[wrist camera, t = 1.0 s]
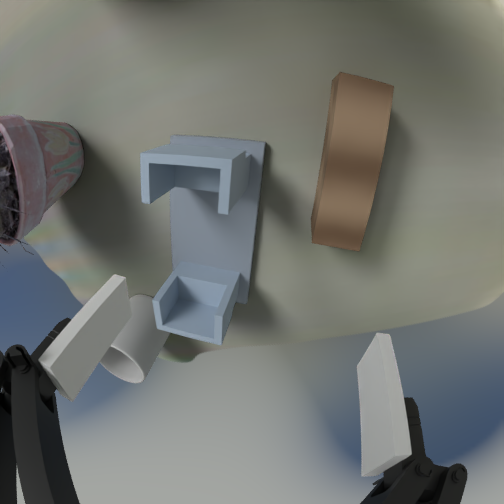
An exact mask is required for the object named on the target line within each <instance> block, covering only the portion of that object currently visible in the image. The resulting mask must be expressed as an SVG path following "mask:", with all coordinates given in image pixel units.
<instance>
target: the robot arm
mask: <svg viewBox="0 0 504 504" xmlns="http://www.w3.org/2000/svg"><path fill="white" fill-rule="evenodd" d="M131 316H132V312H131V306H130V301H129V295H128V289H127V283H126V277H122V276H119V275H116V274H114V275H113V276H112V277H111V278H110V279H109V280H108V281H107V282H106V283H105V284H104V285H103V286H102V287H101V288H100V289H99V291H98V292H97V293H96V294H95V295H94V296H93V297H92V298H91V299H90V300H89V301H88V302H87V303H86V305H85V306H84V307H83V308H82V309H81V310H80V311H79V312H78V313H77V314H76V316H75V317H74V318H73V319H72V320H71V319H69V318H66V319H64V320H62V321H61V322H59V323H58V324H57V325H56V326H55V328H54V329H53V331H51V332H50V333H49V334H48V336H47V337H46V338H45V339H44V340H43V341H42V342H41V344H40V345H39V346H38V347H37V348H36V350H35V351H34V352H33V353H32V355H29V354H28V352H27V350H26V349H25V347H24V346H22V345H13V346H11V347H10V348H8V350H7V351H6V352H5V356H4V355H3V353H2V352H1V351H0V392H1V388H3V389H2V392H1V393H0V504H17V491H16V468H18V473H19V478H20V483H21V487H22V492H23V496H24V499H25V503H26V504H80V503H79V500H78V497H77V494H76V491H75V488H74V485H73V482H72V479H71V474H70V471H69V467H68V463H67V459H66V455H65V451H64V446H63V441H62V436H61V430H60V425H59V418H58V411H57V404H56V397H55V393H54V392H55V390H56V389H57V390H58V391H59V393H60V394H61V395H62V396H63V397H65V398H67V399H68V400H70V401H72V402H73V401H74V399H75V398H76V396H77V395H78V393H79V392H80V390H81V388H82V387H83V385H84V384H85V382H86V381H87V379H88V378H89V376H90V375H91V373H92V372H93V370H94V369H95V367H96V366H97V364H98V363H99V361H100V360H101V359H102V357H103V356H104V354H105V353H106V351H107V350H108V348H109V347H110V346H111V344H112V343H113V341H114V340H115V339H116V337H117V336H118V334H119V333H120V332H121V330H122V329H123V327H124V326H125V325H126V323H127V322H128V321H129V319H130V318H131ZM357 375H358V387H359V400H360V417H361V443H362V445H361V446H362V476H377V475H379V474H380V473H382V472H384V477H383V478H381V479H379V480H377V481H376V482H374V483H373V485H376V484H377V485H376V486H375V487H374V489H373V490H372V491H371V492H370V493H369V494H368V495H367V497H366V498H365V499H364V500H363V501H362V502H361V503H360V504H460V502H461V499H462V495H463V492H464V488H465V484H466V481H467V470H466V468H465V467H464V466H463V465H462V464H454V465H452V466H451V467H449V468H448V467H443V466H438V465H435V464H433V462H432V461H431V459H430V458H428V457H426V454H425V449H424V442H423V435H422V429H421V426H420V424H421V422H420V418H419V411H418V407H417V405H416V403H415V401H414V400H413V398H404V396H403V391H402V386H401V381H400V376H399V371H398V367H397V362H396V358H395V354H394V349H393V345H392V341H391V337H390V335H389V334H382V333H376V335H375V337H374V339H373V340H372V342H371V344H370V345H369V347H368V349H367V350H366V352H365V354H364V355H363V357H362V359H361V360H360V362H359V364H358V365H357ZM16 466H17V467H16Z"/></svg>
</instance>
